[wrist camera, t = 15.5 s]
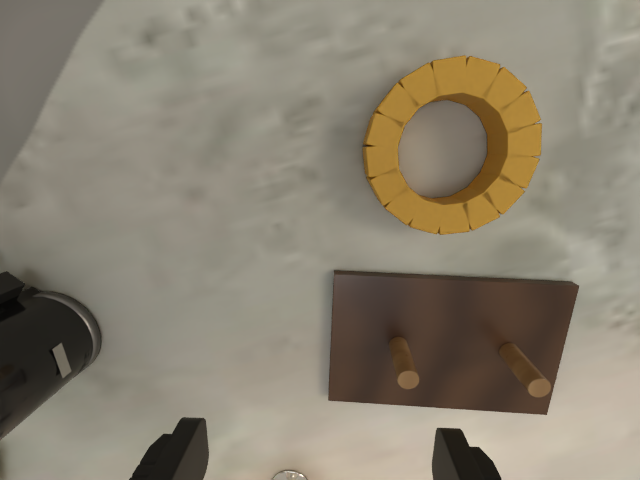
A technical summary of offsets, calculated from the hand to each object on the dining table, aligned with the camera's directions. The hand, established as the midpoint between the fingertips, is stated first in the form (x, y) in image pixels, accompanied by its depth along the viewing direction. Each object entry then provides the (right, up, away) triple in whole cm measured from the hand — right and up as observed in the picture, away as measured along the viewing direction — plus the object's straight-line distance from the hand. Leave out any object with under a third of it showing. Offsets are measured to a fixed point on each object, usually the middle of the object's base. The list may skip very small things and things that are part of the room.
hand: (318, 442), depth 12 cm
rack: (+12, -3, +22) cm, 25 cm away
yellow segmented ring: (+10, +15, +17) cm, 25 cm away
